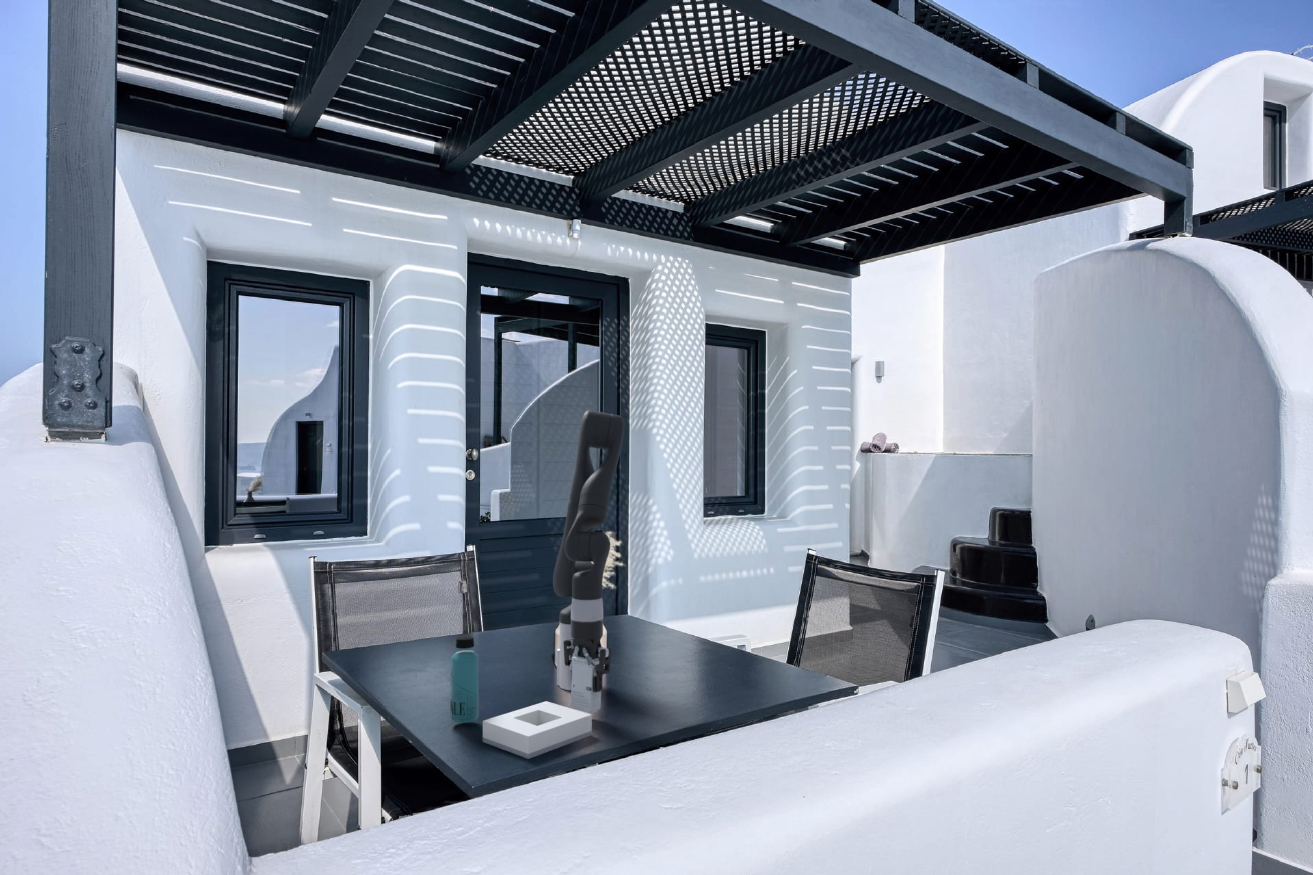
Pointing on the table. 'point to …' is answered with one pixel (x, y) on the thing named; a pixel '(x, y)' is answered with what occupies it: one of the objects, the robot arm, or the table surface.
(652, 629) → the table surface
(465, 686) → the beverage bottle
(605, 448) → the robot arm
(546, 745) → the white flat block
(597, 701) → the skincare box
